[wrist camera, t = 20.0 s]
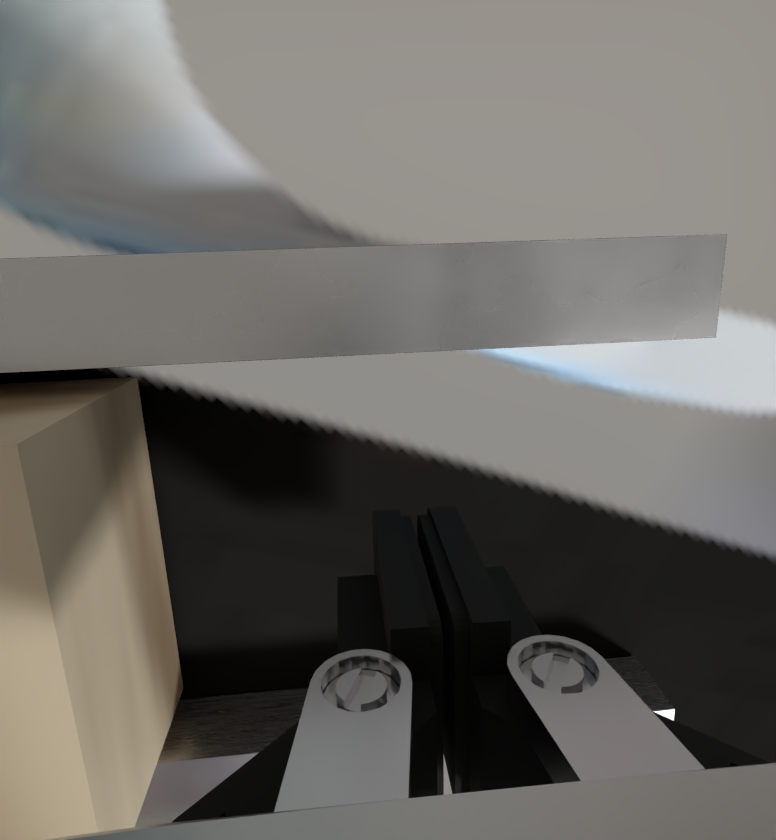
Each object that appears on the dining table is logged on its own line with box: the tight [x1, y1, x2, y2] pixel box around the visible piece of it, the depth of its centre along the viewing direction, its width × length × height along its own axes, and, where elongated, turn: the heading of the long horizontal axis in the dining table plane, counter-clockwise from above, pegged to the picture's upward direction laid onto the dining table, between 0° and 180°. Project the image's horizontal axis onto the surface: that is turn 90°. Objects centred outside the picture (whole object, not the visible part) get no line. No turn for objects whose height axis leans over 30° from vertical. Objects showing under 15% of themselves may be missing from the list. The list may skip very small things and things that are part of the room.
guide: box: [0, 234, 727, 827], centre depth 11 cm, size 22×13×5 cm, turn 92°
